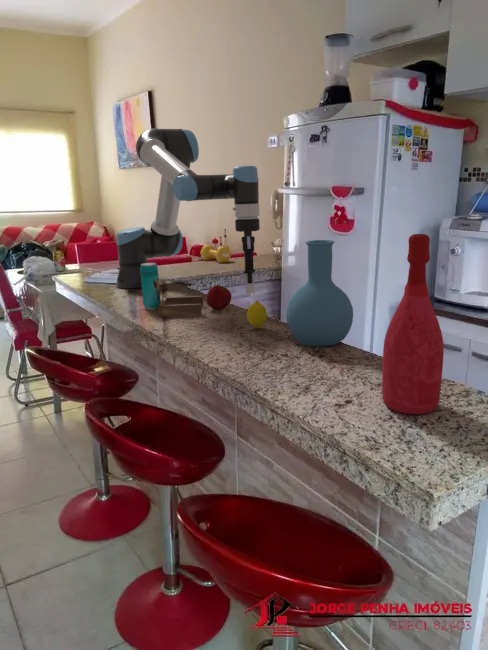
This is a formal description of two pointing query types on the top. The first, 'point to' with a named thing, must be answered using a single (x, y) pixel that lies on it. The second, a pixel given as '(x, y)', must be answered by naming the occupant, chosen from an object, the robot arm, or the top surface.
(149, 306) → the beverage can
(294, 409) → the top surface
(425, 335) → the wine bottle
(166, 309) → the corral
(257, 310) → the fruit
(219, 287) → the apple
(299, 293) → the vase
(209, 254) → the dumbbell
